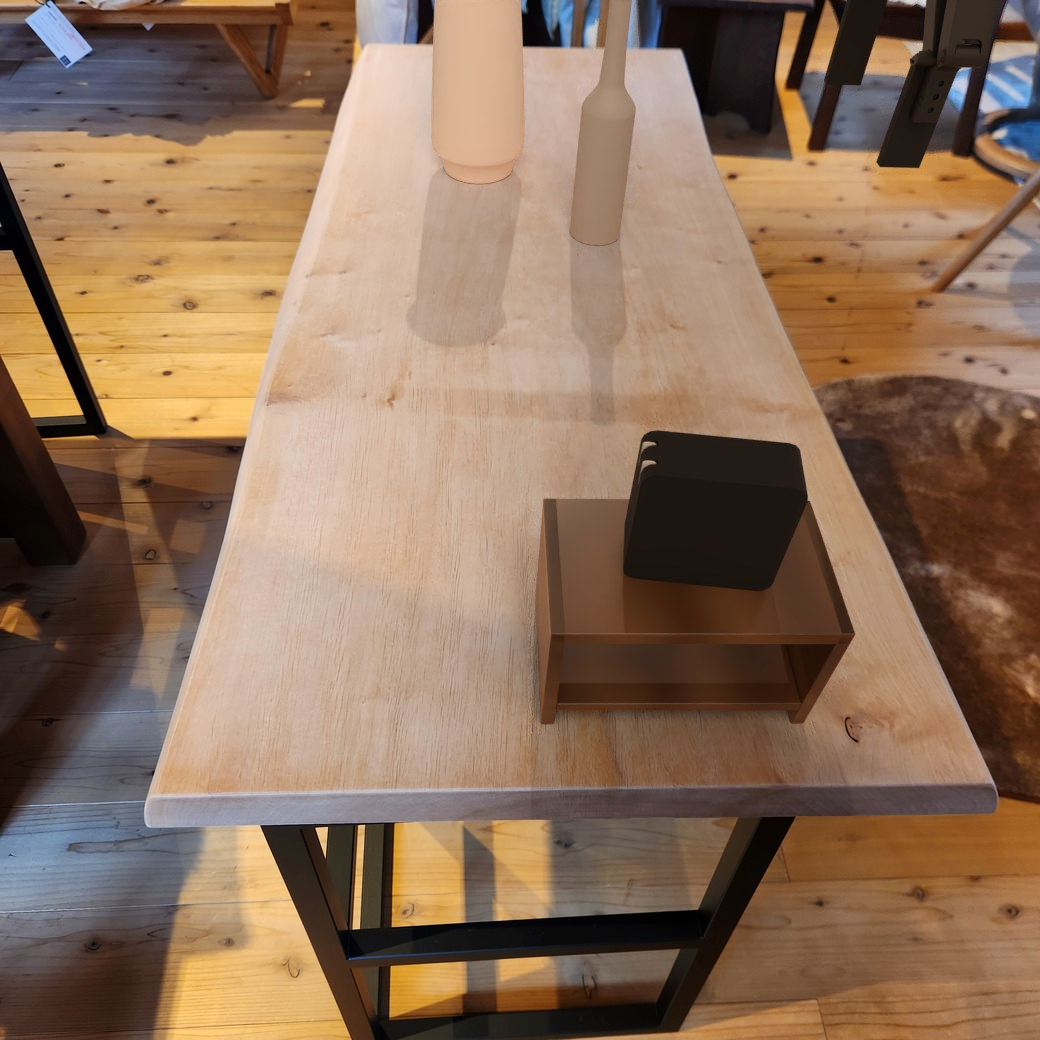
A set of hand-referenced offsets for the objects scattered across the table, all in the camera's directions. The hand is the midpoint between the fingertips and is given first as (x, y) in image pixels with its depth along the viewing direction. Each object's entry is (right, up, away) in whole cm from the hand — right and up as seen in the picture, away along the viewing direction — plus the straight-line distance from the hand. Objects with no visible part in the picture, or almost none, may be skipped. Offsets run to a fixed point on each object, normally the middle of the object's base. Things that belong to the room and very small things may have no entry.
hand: (867, 121), depth 62 cm
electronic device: (-13, -32, -2) cm, 35 cm away
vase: (-31, +22, +60) cm, 71 cm away
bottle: (-15, +9, +50) cm, 53 cm away
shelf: (-14, -40, +6) cm, 43 cm away
